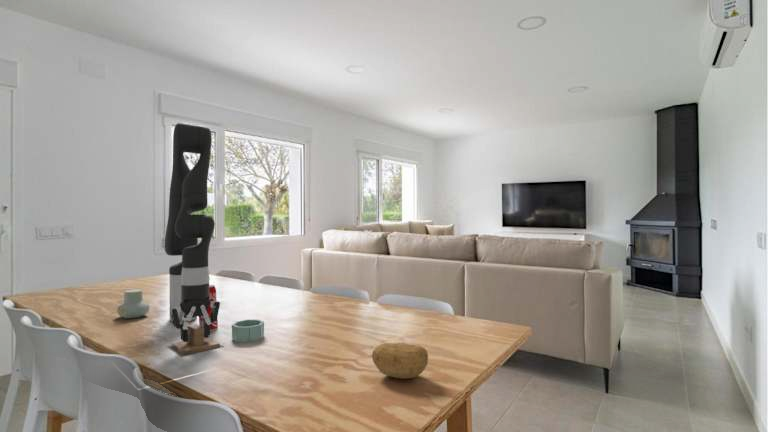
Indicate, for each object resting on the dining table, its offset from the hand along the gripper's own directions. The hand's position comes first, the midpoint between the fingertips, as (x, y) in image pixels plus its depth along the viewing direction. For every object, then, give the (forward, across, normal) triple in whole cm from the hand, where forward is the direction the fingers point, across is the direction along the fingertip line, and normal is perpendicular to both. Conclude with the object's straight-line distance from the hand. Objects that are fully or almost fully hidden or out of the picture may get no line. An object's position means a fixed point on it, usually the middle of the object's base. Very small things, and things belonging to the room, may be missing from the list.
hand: (195, 339), depth 121 cm
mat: (+3, 0, 0) cm, 3 cm away
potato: (+3, -27, +57) cm, 63 cm away
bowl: (+3, -15, +3) cm, 16 cm away
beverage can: (+3, -10, -16) cm, 19 cm away
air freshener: (+3, +3, -54) cm, 54 cm away
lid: (+2, 0, 0) cm, 2 cm away
